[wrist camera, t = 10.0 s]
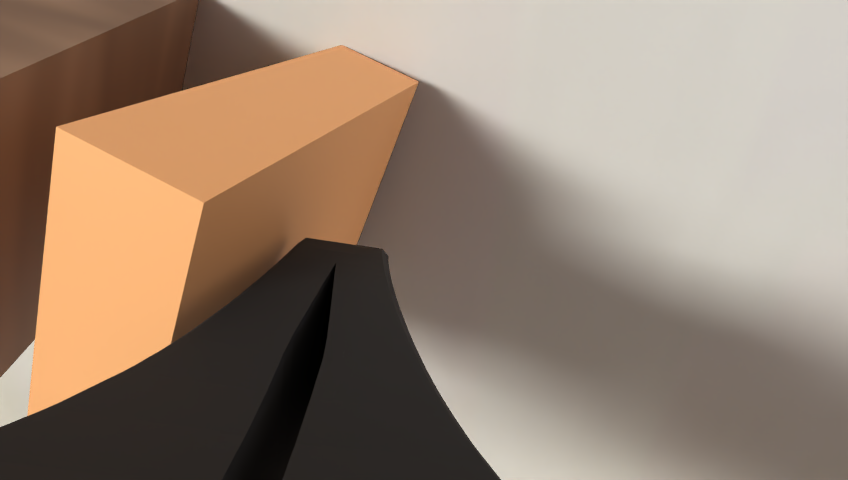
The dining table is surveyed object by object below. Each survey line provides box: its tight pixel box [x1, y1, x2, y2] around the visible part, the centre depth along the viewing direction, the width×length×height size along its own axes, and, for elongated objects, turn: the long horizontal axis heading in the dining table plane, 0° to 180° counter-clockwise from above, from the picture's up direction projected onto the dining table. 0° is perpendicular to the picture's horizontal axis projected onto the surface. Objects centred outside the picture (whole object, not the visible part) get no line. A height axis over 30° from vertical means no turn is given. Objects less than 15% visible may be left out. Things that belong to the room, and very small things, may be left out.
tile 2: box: [0, 0, 199, 377], centre depth 11 cm, size 2×5×8 cm, turn 159°
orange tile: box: [28, 45, 419, 416], centre depth 11 cm, size 2×5×8 cm, turn 159°
